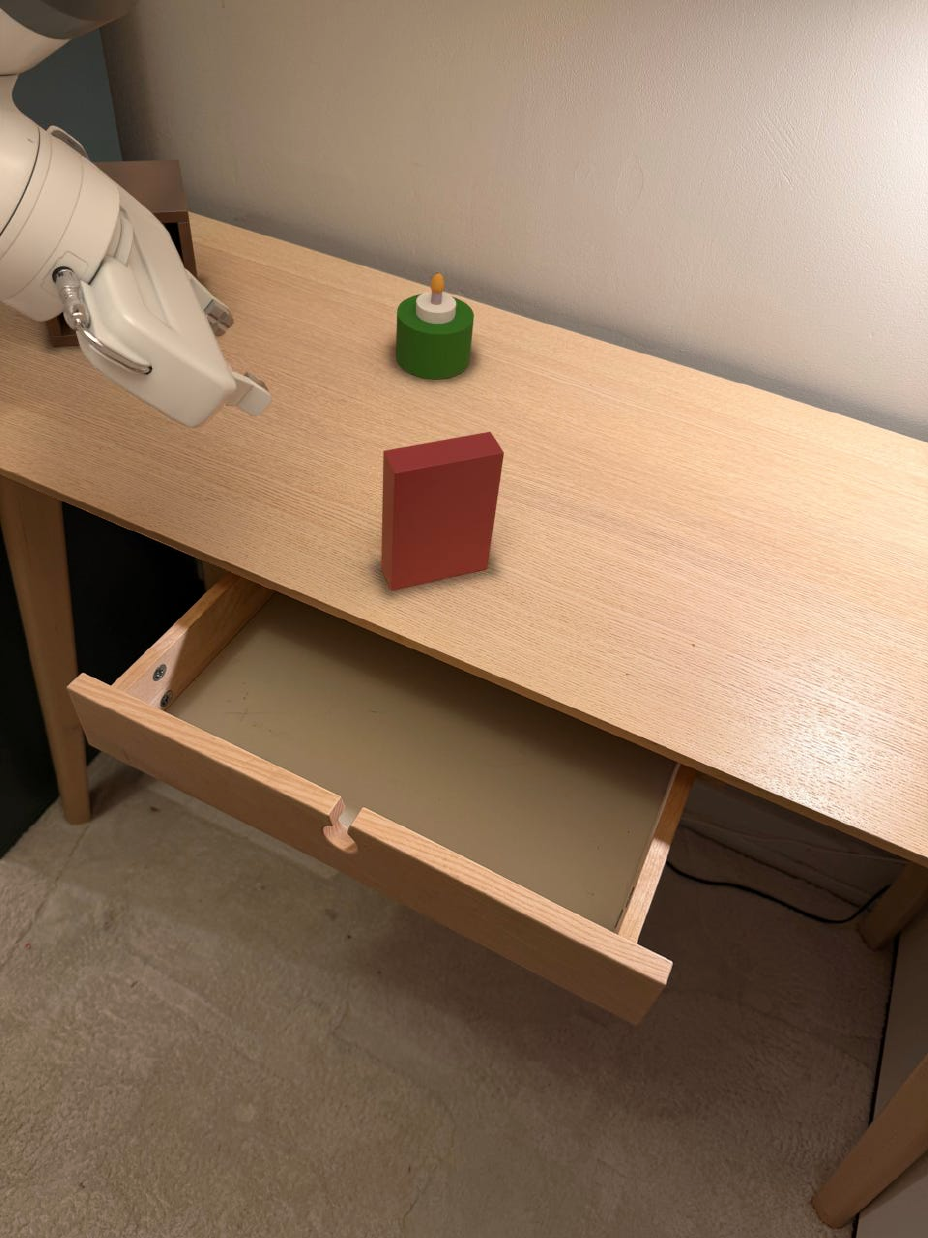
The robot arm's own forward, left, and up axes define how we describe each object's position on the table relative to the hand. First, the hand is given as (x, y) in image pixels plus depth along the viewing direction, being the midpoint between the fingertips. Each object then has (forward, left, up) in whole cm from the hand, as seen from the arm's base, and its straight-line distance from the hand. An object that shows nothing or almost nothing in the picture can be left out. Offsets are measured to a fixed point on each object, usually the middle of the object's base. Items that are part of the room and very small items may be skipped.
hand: (243, 361), depth 59 cm
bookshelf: (-10, +47, -23) cm, 53 cm away
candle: (+22, +33, -23) cm, 46 cm away
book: (+14, +1, -23) cm, 27 cm away
